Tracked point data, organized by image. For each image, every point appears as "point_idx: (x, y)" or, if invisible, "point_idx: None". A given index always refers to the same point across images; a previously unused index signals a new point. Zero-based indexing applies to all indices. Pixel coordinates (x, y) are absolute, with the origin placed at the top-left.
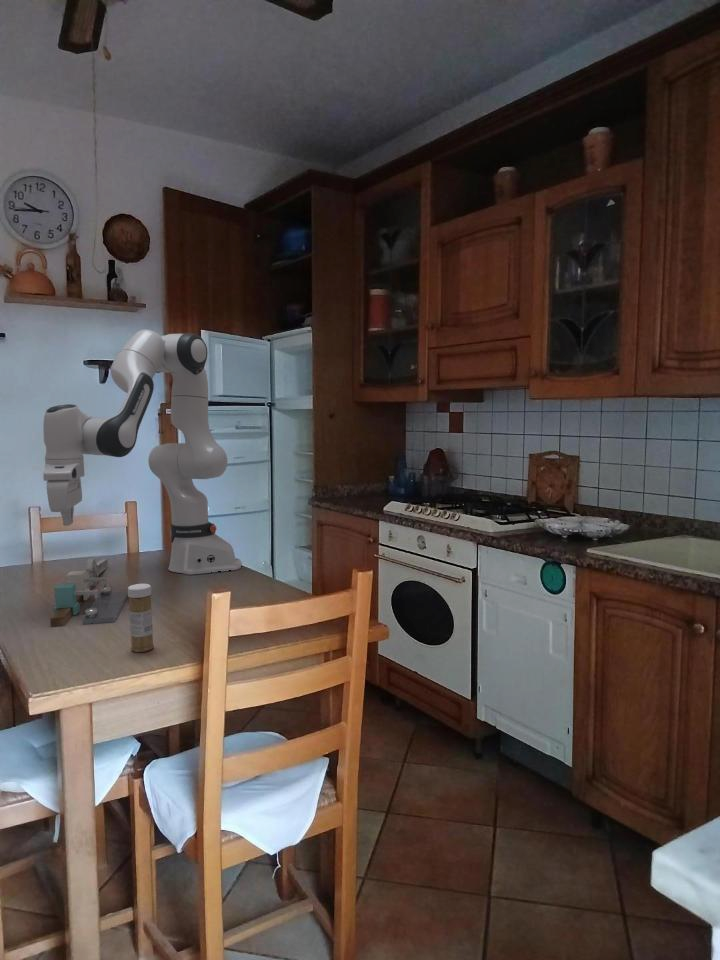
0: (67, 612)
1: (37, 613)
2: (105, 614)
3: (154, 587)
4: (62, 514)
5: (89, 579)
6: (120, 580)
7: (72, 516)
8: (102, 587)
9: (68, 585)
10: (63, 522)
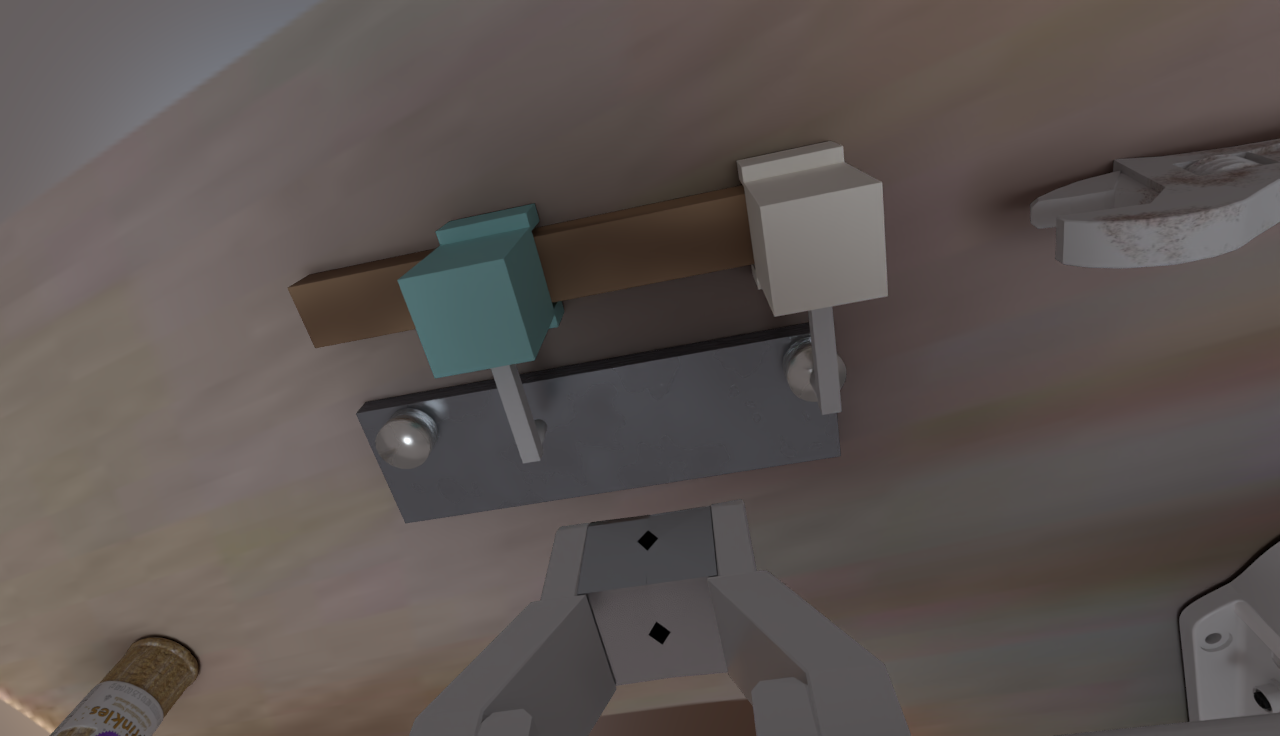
0: (388, 333)
1: (513, 89)
2: (435, 480)
3: (969, 517)
4: (458, 698)
5: (813, 321)
6: (1210, 303)
7: (742, 681)
8: None
9: (472, 341)
10: (551, 559)
